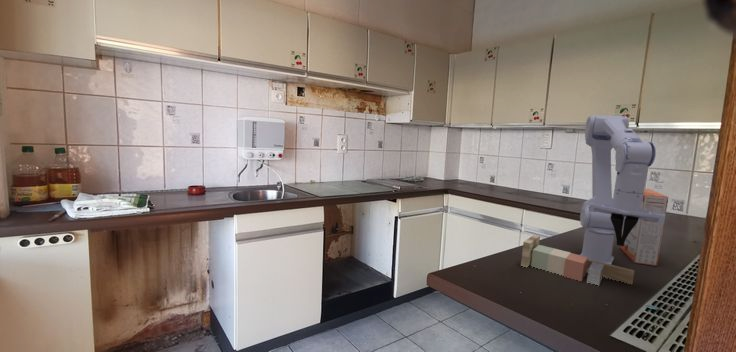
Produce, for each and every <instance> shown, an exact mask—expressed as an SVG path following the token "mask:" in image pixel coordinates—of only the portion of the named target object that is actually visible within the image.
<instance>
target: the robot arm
mask: <svg viewBox="0 0 736 352" xmlns="http://www.w3.org/2000/svg"><path fill="white" fill-rule="evenodd" d="M629 126H630V120H629V118H628V117H627V116H626V115H594V114H590V115H589V116H588V117H587V119H586V122H585V127H584V130H585V131H584V133H585V134H584V139H585V144H586V145H587V146H589V147H590V149H591V161H592V162H591V163H592V165H591V166H592V167H591V168H592V169H591V170H592V171H591V173H592V176H591V177H592V179H591V180H592V182H591V184H592V187H591V188H592V192H591V193H592V195H591V198H589V199H588V200H585V201H584V202H583V203H582V205H581V208H580V209H581V211H580V216H579V224H580V225H581V227H582V228H584V229H585V230H584V236H583V244H582V249H581V250H582V251H581V253H580V254H579V255H581V256H585V257H588V259H590V260H594V261H598V262H602V263H606V264H610V265H613V262H614V259H615V256H613V255H612V253H613V249H614V248H613V247H614V240H615V238H616V246H624V243H625V240H626V238H627V236H628V234H629V233H630V231H631V230H632V229H633V227H634V226H635V225H636V224H637V222H638V220H639V219H642V220H648V221H654V222H658V223H664V224H665V221H664V219H665V220H666V215H665V214H660V213H655V212H650V211H645V210H641V207H642V201H643V195H644V189H646V188H645V187H646V182H647V176H648V170H649V167H652V165H653V163H654V162H655V160H656V154H657V152H656V151H657V149H656V146H655V144H654V142H651V141H648V142H644V141H643V140H642V139H641V137H640V136H639V135H638V134H637V133H636V132H635V131H634V130H633V129H632V128H629ZM612 149H614V151H615V157H614V159H615V168H614V169H615V172H616V176H615V184H614V191H612V190H613V189H612V188H613V187H612V152H611V151H612ZM633 215H635V216H633ZM625 217H626V218H625ZM623 227H624V228H623ZM622 231H623V234H622Z"/></svg>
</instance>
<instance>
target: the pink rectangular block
mask: <svg viewBox="0 0 736 352" xmlns="http://www.w3.org/2000/svg"><path fill="white" fill-rule="evenodd" d="M587 261H588V257H585V256H581V255H580V254H577V253H572V252H571V253H570V254H569V255H568V257H567V258H566V260H565V267H564V274H563V276H564V277H563V276H562V277H563V278H566V277H567V279H569V278H571V279H570V280H573V279H574V280H573V281H576V280H578V281H577V282H580V281H581V282H582V281H583V279H584V278H585V276H586V274H587V273H586V267H587ZM583 277H584V278H583Z"/></svg>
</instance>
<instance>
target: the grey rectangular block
mask: <svg viewBox="0 0 736 352" xmlns="http://www.w3.org/2000/svg"><path fill="white" fill-rule="evenodd" d="M603 269H604V265H603V264H599V263H596V262H592V264H591V265H590V267H589V270H588V273H587V277H586V284H588V283H591V284H590V285H592V284H595V285H598V286H597V287H599V286H600V284H601V282H602V279H603V277H602V276H603ZM595 285H594V286H595Z"/></svg>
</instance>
